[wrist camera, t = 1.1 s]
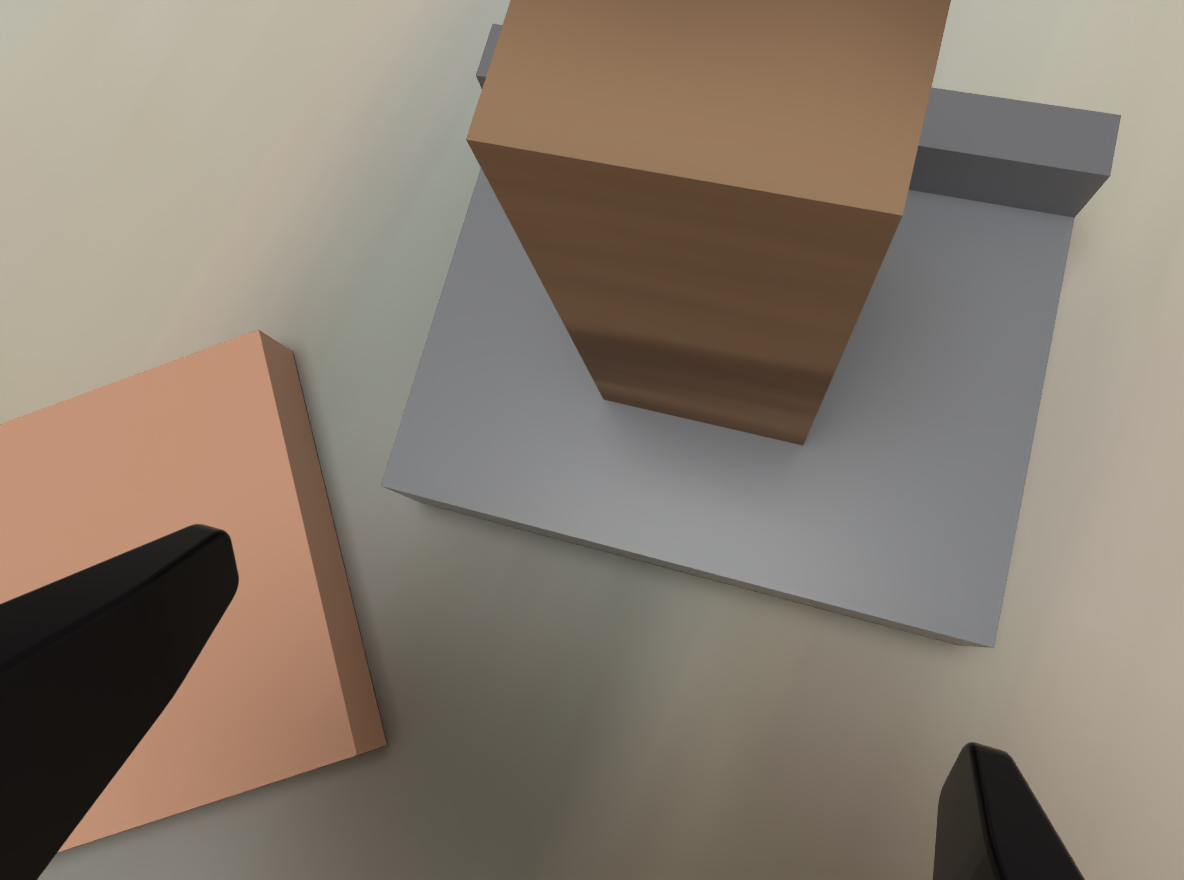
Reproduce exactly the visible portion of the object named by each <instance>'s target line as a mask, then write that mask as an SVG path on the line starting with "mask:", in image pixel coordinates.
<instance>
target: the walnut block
mask: <svg viewBox="0 0 1184 880" xmlns="http://www.w3.org/2000/svg"><path fill="white" fill-rule="evenodd" d="M950 1H951V0H511V1H510V4H509V7H508V10H507V14H506V17H505V20H504V23H503V26H502V29H501V32H500V35H499V39H498V42H497V45H496V48H495V51H494V54H493V57H492V60H491V64H490V67H489V70H488V73H487V76H486V79H485V82H484V85H483V89H482V92H481V95H480V98H479V101H478V104H477V107H476V110H475V113H474V117H473V120H472V123H471V126H470V129H469V132H468V135H467V138H466V140H467V142H468V144H469V146H470V148H471V149H472V151H473V153H474V155H475V157H476V159H477V161H478V163H479V165H480V166H481V168H482V170H483V172H484V174H485V176H486V178H487V180H488V182H489V184H490V185H491V187H492V189H493V191H494V193H495V195H496V197H497V199H498V201H499V202H500V204H501V206H502V208H503V210H504V212H505V214H506V216H507V218H508V220H509V221H510V223H511V225H512V227H513V229H514V231H515V233H516V235H517V237H518V238H519V240H520V242H521V244H522V246H523V248H524V250H525V252H526V254H527V256H528V257H529V259H530V261H531V263H532V265H533V267H534V269H535V271H536V273H537V274H538V276H539V278H540V280H541V282H542V284H543V286H544V288H545V290H546V292H547V293H548V295H549V297H550V299H551V301H552V303H553V305H554V307H555V309H556V310H557V312H558V314H559V316H560V318H561V320H562V322H563V324H564V326H565V327H566V329H567V331H568V333H569V335H570V337H571V339H572V341H573V343H574V345H575V346H576V348H577V350H578V352H579V354H580V356H581V358H582V360H583V362H584V363H585V365H586V367H587V369H588V371H589V373H590V375H591V377H592V379H593V381H594V382H595V384H596V386H597V388H598V390H599V392H600V394H601V396H602V398H603V399H604V400H607V401H611V402H616V403H620V404H624V405H629V406H633V407H637V408H642V409H646V410H651V411H655V412H659V413H664V414H668V415H672V416H677V417H681V418H685V419H690V420H694V421H698V422H703V423H707V424H711V425H716V426H720V427H724V428H729V429H733V430H738V431H742V432H746V433H751V434H755V435H759V436H764V437H768V438H772V439H777V440H781V441H785V442H790V443H794V444H798V445H804V443H805V440H806V438H807V436H808V433H809V431H810V429H811V426H812V424H813V422H814V419H815V417H816V415H817V413H818V410H819V408H820V406H821V403H822V401H823V399H824V396H825V394H826V392H827V389H828V387H829V385H830V382H831V380H832V378H833V376H834V373H835V371H836V369H837V366H838V364H839V362H840V359H841V357H842V355H843V352H844V350H845V348H846V345H847V343H848V341H849V339H850V336H851V334H852V332H853V329H854V327H855V325H856V322H857V320H858V318H859V315H860V313H861V311H862V308H863V306H864V304H865V302H866V299H867V297H868V295H869V292H870V290H871V288H872V285H873V283H874V281H875V278H876V276H877V274H878V271H879V269H880V267H881V265H882V262H883V260H884V258H885V255H886V253H887V251H888V248H889V246H890V244H891V241H892V239H893V237H894V234H895V232H896V230H897V228H898V225H899V223H900V221H901V218H902V216H903V212H904V207H905V203H906V199H907V194H908V190H909V185H910V181H911V176H912V172H913V167H914V163H915V158H916V154H917V149H918V145H919V140H920V136H921V131H922V127H923V122H924V118H925V113H926V109H927V104H928V100H929V95H930V91H931V87H932V82H933V78H934V73H935V69H936V64H937V60H938V55H939V51H940V46H941V42H942V37H943V33H944V28H945V24H946V19H947V15H948V10H949V6H950Z"/></svg>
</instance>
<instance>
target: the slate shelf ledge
mask: <svg viewBox="0 0 1184 880" xmlns="http://www.w3.org/2000/svg"><path fill="white" fill-rule="evenodd" d="M502 26H503V25H497V24H492V27H491V30H490V34H489V37H488V40H487V43H486V46H485V49H484V52H483V55H482V58H481V61H480V65H479V68H478V71H477V74H476V77H477V79H478V81H479V83H480V86H481V88H482V89H483V85H484V82H485V79H486V76H487V73H488V70H489V67H490V64H491V60H492V57H493V54H494V51H495V48H496V45H497V42H498V39H499V35H500V32H501V29H502ZM1120 118H1121V115H1116V114H1109V113H1102V112H1095V111H1088V110H1081V109H1074V108H1068V107H1061V106H1054V105H1047V104H1040V103H1033V102H1026V101H1019V100H1013V99H1006V98H999V97H992V96H985V95H978V94H971V93H964V92H958V91H951V90H944V89H937V88H931V91H930V95H929V100H928V104H927V109H926V113H925V118H924V122H923V127H922V131H921V136H920V140H919V145H918V149H917V154H916V158H915V163H914V167H913V172H912V176H911V181H910V185H909V190H908V194H907V199H906V203H905V207H904V212H903V216H902V218H901V221H900V223H899V225H898V228H897V230H896V232H895V234H894V237H893V239H892V241H891V244H890V246H889V248H888V251H887V253H886V255H885V258H884V260H883V262H882V265H881V267H880V269H879V271H878V274H877V276H876V278H875V281H874V283H873V285H872V288H871V290H870V292H869V295H868V297H867V299H866V302H865V304H864V306H863V308H862V311H861V313H860V315H859V318H858V320H857V322H856V325H855V327H854V329H853V332H852V334H851V336H850V339H849V341H848V343H847V345H846V348H845V350H844V352H843V355H842V357H841V359H840V362H839V364H838V366H837V369H836V371H835V373H834V376H833V378H832V380H831V382H830V385H829V387H828V389H827V392H826V394H825V396H824V399H823V401H822V403H821V406H820V408H819V410H818V413H817V415H816V417H815V419H814V422H813V424H812V426H811V429H810V431H809V433H808V436H807V438H806V440H805V443H804V445H798V444H794V443H790V442H785V441H781V440H777V439H772V438H768V437H764V436H759V435H755V434H751V433H746V432H742V431H738V430H733V429H729V428H724V427H720V426H716V425H711V424H707V423H703V422H698V421H694V420H690V419H685V418H681V417H677V416H672V415H668V414H664V413H659V412H655V411H651V410H646V409H642V408H637V407H633V406H629V405H624V404H620V403H616V402H611V401H607V400H604V399H603V398H602V396H601V394H600V392H599V390H598V388H597V386H596V384H595V382H594V381H593V379H592V377H591V375H590V373H589V371H588V369H587V367H586V365H585V363H584V362H583V360H582V358H581V356H580V354H579V352H578V350H577V348H576V346H575V345H574V343H573V341H572V339H571V337H570V335H569V333H568V331H567V329H566V327H565V326H564V324H563V322H562V320H561V318H560V316H559V314H558V312H557V310H556V309H555V307H554V305H553V303H552V301H551V299H550V297H549V295H548V293H547V292H546V290H545V288H544V286H543V284H542V282H541V280H540V278H539V276H538V274H537V273H536V271H535V269H534V267H533V265H532V263H531V261H530V259H529V257H528V256H527V254H526V252H525V250H524V248H523V246H522V244H521V242H520V240H519V238H518V237H517V235H516V233H515V231H514V229H513V227H512V225H511V223H510V221H509V220H508V218H507V216H506V214H505V212H504V210H503V208H502V206H501V204H500V202H499V201H498V199H497V197H496V195H495V193H494V191H493V189H492V187H491V185H490V184H489V182H488V180H487V178H486V176H485V174H484V172H483V170H482V168H481V169H480V173H479V176H478V179H477V182H476V185H475V188H474V192H473V195H472V198H471V201H470V204H469V207H468V211H467V214H466V217H465V220H464V223H463V227H462V230H461V233H460V236H459V239H458V242H457V246H456V249H455V252H454V255H453V258H452V261H451V265H450V268H449V271H448V274H447V277H446V280H445V284H444V287H443V290H442V293H441V296H440V299H439V303H438V306H437V309H436V312H435V315H434V318H433V322H432V325H431V328H430V331H429V334H428V338H427V341H426V344H425V347H424V350H423V353H422V357H421V360H420V363H419V366H418V369H417V372H416V376H415V379H414V382H413V385H412V388H411V391H410V395H409V398H408V401H407V404H406V407H405V410H404V414H403V417H402V420H401V423H400V426H399V429H398V433H397V436H396V439H395V442H394V445H393V449H392V452H391V455H390V458H389V461H388V464H387V468H386V471H385V474H384V477H383V480H382V483H381V486H382V487H385V488H387V489H389V490H392V491H394V492H397V493H399V494H401V495H404V496H406V497H409V498H411V499H413V500H416V501H418V502H421V503H425V504H428V505H432V506H436V507H440V508H444V509H447V510H451V511H455V512H459V513H462V514H466V515H470V516H474V517H477V518H481V519H485V520H489V521H493V522H496V523H500V524H504V525H508V526H511V527H515V528H519V529H523V530H526V531H530V532H534V533H538V534H541V535H545V536H549V537H553V538H557V539H560V540H564V541H568V542H572V543H575V544H579V545H583V546H587V547H590V548H594V549H598V550H602V551H606V552H609V553H613V554H617V555H621V556H624V557H628V558H632V559H636V560H639V561H643V562H647V563H651V564H655V565H658V566H662V567H666V568H670V569H673V570H677V571H681V572H685V573H688V574H692V575H696V576H700V577H704V578H707V579H711V580H715V581H719V582H722V583H726V584H730V585H734V586H737V587H741V588H745V589H749V590H753V591H756V592H760V593H764V594H768V595H771V596H775V597H779V598H783V599H786V600H790V601H794V602H798V603H801V604H805V605H809V606H813V607H817V608H820V609H824V610H828V611H832V612H835V613H839V614H843V615H847V616H850V617H854V618H858V619H862V620H866V621H869V622H873V623H877V624H881V625H884V626H888V627H892V628H896V629H899V630H903V631H907V632H911V633H915V634H918V635H922V636H926V637H930V638H933V639H937V640H941V641H945V642H948V643H952V644H956V645H963V646H976V647H990V648H994V645H995V640H996V635H997V629H998V624H999V618H1000V613H1001V608H1002V602H1003V597H1004V592H1005V586H1006V581H1007V576H1008V570H1009V565H1010V560H1011V554H1012V549H1013V544H1014V538H1015V533H1016V528H1017V522H1018V517H1019V512H1020V506H1021V501H1022V495H1023V490H1024V485H1025V479H1026V474H1027V469H1028V463H1029V458H1030V453H1031V447H1032V442H1033V437H1034V431H1035V426H1036V421H1037V415H1038V410H1039V405H1040V399H1041V394H1042V389H1043V383H1044V378H1045V372H1046V367H1047V362H1048V356H1049V351H1050V346H1051V340H1052V335H1053V330H1054V324H1055V319H1056V314H1057V308H1058V303H1059V298H1060V292H1061V287H1062V282H1063V276H1064V271H1065V266H1066V260H1067V255H1068V249H1069V244H1070V239H1071V233H1072V228H1073V223H1074V218H1075V216H1076V215H1077V214H1078V213H1079V212H1080V211H1081V209H1082V208H1083V207H1084V206H1085V205H1086V204H1087V202H1088V201H1089V200H1090V199H1091V198H1092V196H1093V195H1094V194H1095V193H1096V192H1097V191H1098V189H1099V188H1100V187H1101V186H1102V185H1103V184H1104V182H1105V181H1106V180H1107V179H1108V178H1109V177H1110V173H1111V168H1112V162H1113V157H1114V151H1115V145H1116V140H1117V134H1118V129H1119V123H1120Z"/></svg>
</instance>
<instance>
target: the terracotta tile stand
mask: <svg viewBox="0 0 1184 880" xmlns="http://www.w3.org/2000/svg"><path fill="white" fill-rule="evenodd" d="M193 524H204V525H207V526H211V527H215V528H218V529H222V530H224V531H226V532H227V533H228V534H229V536H230V538H231V541H232V546H233V550H234V555H235V560H236V565H237V569H238V574H239V584H238V589H237V591H236V594H235V596H234V598H233V600H232V601H231V603H230V605H229V606H228V608H227V610H226V611H225V613H224V615H223V616H222V618H221V620H220V621H219V623H218V625H217V626H216V628H215V630H214V631H213V633H212V635H211V636H210V638H209V640H208V641H207V643H206V645H205V646H204V648H203V650H202V651H201V653H200V655H199V656H198V658H197V659H196V661H195V663H194V664H193V666H192V668H191V669H190V671H189V673H188V674H187V676H186V678H185V679H184V681H183V683H182V684H181V686H180V687H179V689H178V690H177V692H176V693H175V695H174V697H173V698H172V699H171V701H170V702H169V704H168V705H167V706H166V708H165V709H164V711H163V712H162V713H161V715H160V716H159V717H158V719H157V720H156V721H155V723H154V724H153V725H152V727H151V728H150V729H149V731H148V732H147V733H146V735H145V736H144V737H143V739H142V740H141V741H140V743H139V744H138V745H137V747H136V748H135V749H134V751H133V752H132V753H131V755H130V756H129V757H128V759H127V760H126V761H125V763H124V764H123V765H122V767H121V768H120V769H119V771H118V772H117V773H116V775H115V776H114V777H113V779H112V780H111V781H110V783H109V784H108V785H107V787H106V788H105V789H104V791H103V792H102V793H101V795H100V796H99V797H98V799H97V800H96V801H95V803H94V804H93V805H92V807H91V808H90V810H89V811H88V812H87V814H86V815H85V816H84V818H83V819H82V820H81V822H80V823H79V824H78V826H77V827H76V828H75V830H74V831H73V832H72V834H71V835H70V836H69V838H68V839H67V840H66V842H65V843H64V844H63V846H62V847H61V848H60V850H59V851H58V852H60V851H63V850H66V849H69V848H72V847H76V846H79V845H82V844H85V843H88V842H91V841H94V840H97V839H100V838H103V837H106V836H109V835H113V834H116V833H119V832H122V831H125V830H128V829H131V828H134V827H137V826H140V825H143V824H146V823H150V822H153V821H156V820H159V819H162V818H165V817H168V816H171V815H174V814H177V813H180V812H183V811H187V810H190V809H193V808H196V807H199V806H202V805H205V804H208V803H211V802H214V801H217V800H220V799H224V798H227V797H230V796H233V795H236V794H239V793H242V792H245V791H248V790H251V789H254V788H257V787H261V786H264V785H267V784H270V783H273V782H276V781H279V780H282V779H285V778H288V777H291V776H294V775H298V774H301V773H304V772H307V771H310V770H313V769H316V768H319V767H322V766H325V765H328V764H331V763H335V762H338V761H341V760H344V759H347V758H350V757H353V756H356V755H359V754H362V753H365V752H368V751H371V750H374V749H376V748H379V747H382V746H385V745H387V744H386V740H385V735H384V731H383V727H382V723H381V719H380V715H379V710H378V706H377V702H376V698H375V694H374V689H373V685H372V681H371V677H370V673H369V669H368V664H367V660H366V656H365V652H364V648H363V644H362V639H361V635H360V631H359V627H358V623H357V619H356V614H355V610H354V606H353V602H352V598H351V594H350V589H349V585H348V581H347V577H346V573H345V568H344V564H343V560H342V556H341V552H340V548H339V543H338V539H337V535H336V531H335V527H334V523H333V518H332V514H331V510H330V506H329V502H328V498H327V493H326V489H325V485H324V481H323V477H322V473H321V468H320V464H319V460H318V456H317V452H316V448H315V443H314V439H313V435H312V431H311V427H310V422H309V418H308V414H307V410H306V406H305V402H304V397H303V393H302V389H301V385H300V381H299V377H298V372H297V368H296V364H295V360H294V356H293V352H292V351H291V350H289V349H288V348H286V347H285V346H283V345H282V344H280V343H279V342H277V341H275V340H274V339H272V338H271V337H269V336H268V335H266V334H264V333H263V332H261V331H260V330H257V331H254V332H252V333H249V334H246V335H243V336H241V337H238V338H235V339H232V340H230V341H227V342H224V343H222V344H219V345H216V346H213V347H211V348H208V349H205V350H202V351H200V352H197V353H194V354H191V355H189V356H186V357H183V358H181V359H178V360H175V361H172V362H170V363H167V364H164V365H161V366H159V367H156V368H153V369H151V370H148V371H145V372H142V373H140V374H137V375H134V376H131V377H129V378H126V379H123V380H121V381H118V382H115V383H112V384H110V385H107V386H104V387H101V388H99V389H96V390H93V391H90V392H88V393H85V394H82V395H80V396H77V397H74V398H71V399H69V400H66V401H63V402H60V403H58V404H55V405H52V406H50V407H47V408H44V409H41V410H39V411H36V412H33V413H30V414H28V415H25V416H22V417H19V418H17V419H14V420H11V421H9V422H6V423H3V424H0V604H1V603H4V602H6V601H9V600H11V599H13V598H16V597H18V596H21V595H23V594H26V593H28V592H30V591H33V590H35V589H38V588H40V587H42V586H45V585H47V584H50V583H52V582H55V581H57V580H59V579H62V578H64V577H67V576H69V575H71V574H74V573H76V572H79V571H81V570H84V569H86V568H88V567H91V566H93V565H96V564H98V563H101V562H103V561H105V560H108V559H110V558H113V557H115V556H117V555H120V554H122V553H125V552H127V551H130V550H132V549H134V548H137V547H139V546H142V545H144V544H147V543H149V542H151V541H154V540H156V539H159V538H161V537H163V536H166V535H168V534H171V533H173V532H176V531H178V530H180V529H183V528H185V527H188V526H190V525H193Z"/></svg>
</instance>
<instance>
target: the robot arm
mask: <svg viewBox="0 0 1184 880" xmlns="http://www.w3.org/2000/svg"><path fill="white" fill-rule="evenodd" d="M238 584H239V574H238V569H237V565H236V560H235V555H234V550H233V546H232V541H231V538H230V536H229V534H228V533H227V532H226V531H224V530H222V529H218V528H215V527H211V526H207V525H204V524H193V525H190V526H188V527H185V528H183V529H180V530H178V531H176V532H173V533H171V534H168V535H166V536H163V537H161V538H159V539H156V540H154V541H151V542H149V543H147V544H144V545H142V546H139V547H137V548H134V549H132V550H130V551H127V552H125V553H122V554H120V555H117V556H115V557H113V558H110V559H108V560H105V561H103V562H101V563H98V564H96V565H93V566H91V567H88V568H86V569H84V570H81V571H79V572H76V573H74V574H71V575H69V576H67V577H64V578H62V579H59V580H57V581H55V582H52V583H50V584H47V585H45V586H42V587H40V588H38V589H35V590H33V591H30V592H28V593H26V594H23V595H21V596H18V597H16V598H13V599H11V600H9V601H6V602H4V603H1V604H0V880H37V879H38V878H39V876H40V875H41V874H42V872H43V871H44V870H45V868H46V867H47V866H48V864H49V863H50V862H51V860H52V859H53V858H54V856H55V855H56V854H57V852H58V851H59V850H60V848H61V847H62V846H63V844H64V843H65V842H66V840H67V839H68V838H69V836H70V835H71V834H72V832H73V831H74V830H75V828H76V827H77V826H78V824H79V823H80V822H81V820H82V819H83V818H84V816H85V815H86V814H87V812H88V811H89V810H90V808H91V807H92V805H93V804H94V803H95V801H96V800H97V799H98V797H99V796H100V795H101V793H102V792H103V791H104V789H105V788H106V787H107V785H108V784H109V783H110V781H111V780H112V779H113V777H114V776H115V775H116V773H117V772H118V771H119V769H120V768H121V767H122V765H123V764H124V763H125V761H126V760H127V759H128V757H129V756H130V755H131V753H132V752H133V751H134V749H135V748H136V747H137V745H138V744H139V743H140V741H141V740H142V739H143V737H144V736H145V735H146V733H147V732H148V731H149V729H150V728H151V727H152V725H153V724H154V723H155V721H156V720H157V719H158V717H159V716H160V715H161V713H162V712H163V711H164V709H165V708H166V706H167V705H168V704H169V702H170V701H171V699H172V698H173V697H174V695H175V693H176V692H177V690H178V689H179V687H180V686H181V684H182V683H183V681H184V679H185V678H186V676H187V674H188V673H189V671H190V669H191V668H192V666H193V664H194V663H195V661H196V659H197V658H198V656H199V655H200V653H201V651H202V650H203V648H204V646H205V645H206V643H207V641H208V640H209V638H210V636H211V635H212V633H213V631H214V630H215V628H216V626H217V625H218V623H219V621H220V620H221V618H222V616H223V615H224V613H225V611H226V610H227V608H228V606H229V605H230V603H231V601H232V600H233V598H234V596H235V594H236V591H237V589H238ZM933 880H1085V879H1084V877H1083V876H1082V874H1081V872H1080V871H1079V869H1078V867H1077V866H1076V864H1075V862H1074V861H1073V859H1072V857H1071V856H1070V854H1069V852H1068V851H1067V849H1066V847H1065V846H1064V844H1063V842H1062V840H1061V839H1060V837H1059V835H1058V834H1057V832H1056V830H1055V829H1054V827H1053V825H1052V824H1051V822H1050V820H1049V819H1048V817H1047V815H1046V814H1045V812H1044V810H1043V809H1042V807H1041V805H1040V804H1039V802H1038V800H1037V799H1036V797H1035V795H1034V794H1033V792H1032V790H1031V789H1030V787H1029V785H1028V784H1027V782H1026V780H1025V779H1024V777H1023V775H1022V774H1021V772H1020V770H1019V768H1018V767H1017V765H1016V763H1015V762H1014V760H1013V759H1012V757H1011V756H1010V755H1009V754H1008V753H1006V752H1005V751H1002V750H999V749H996V748H992V747H989V746H985V745H981V744H978V743H974V742H970V743H967V744H966V745H965V746H964V747H963V749H962V750H961V752H960V754H959V756H958V758H957V760H956V762H955V764H954V766H953V768H952V769H951V771H950V773H949V775H948V777H947V779H946V781H945V783H944V785H943V787H942V790H941V794H940V798H939V805H938V817H937V830H936V844H935V858H934V872H933Z"/></svg>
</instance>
